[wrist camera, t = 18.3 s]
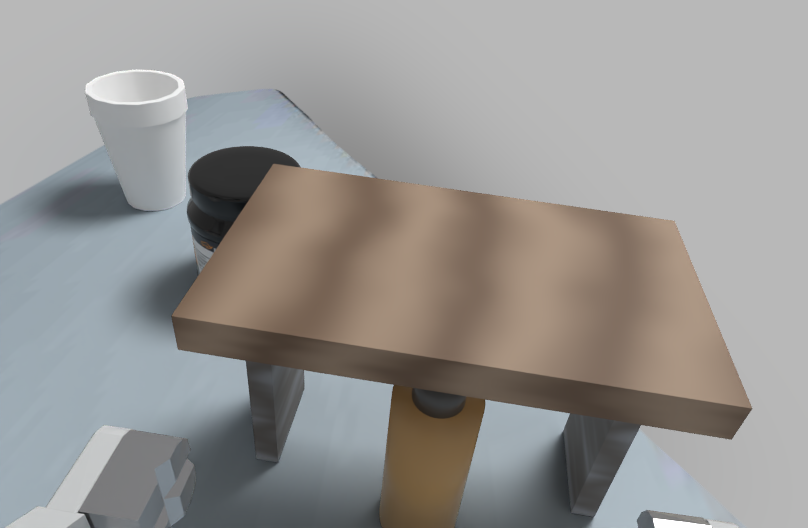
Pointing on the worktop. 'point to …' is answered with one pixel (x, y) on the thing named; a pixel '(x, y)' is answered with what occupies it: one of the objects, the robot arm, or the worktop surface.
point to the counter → (466, 311)
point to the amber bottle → (427, 457)
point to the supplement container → (225, 192)
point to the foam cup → (143, 134)
